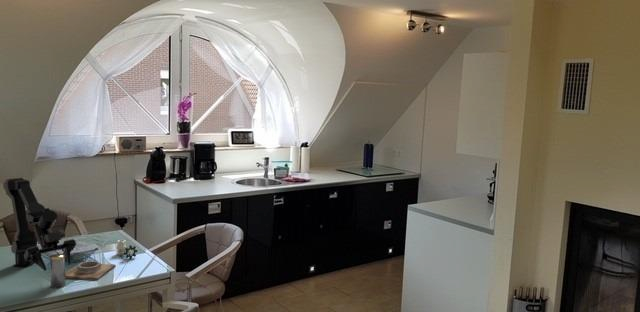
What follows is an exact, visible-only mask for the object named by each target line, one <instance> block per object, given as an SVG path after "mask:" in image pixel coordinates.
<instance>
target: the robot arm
mask: <svg viewBox="0 0 640 312" xmlns="http://www.w3.org/2000/svg"><path fill="white" fill-rule="evenodd" d="M3 189H4V190H5V194H6V195H7V196H8V197H9V198H10V200H11V205H12V210H13V217H14V221H15V228H16V232H15V233H14V236H13V243H12V245H11V247H10V250H11V253H12V254H14V260H15V262H14V263H15V264H13V265H12V266H13V267H17V268H19V267H21V268H23V267H24V268H28V267H30V266H31V265H33V264H35V265H37V266H38V267H40V268H41V269H42V270H43V271H47V267H46V264H45V262H44V260H43V257H42V254H45V253H50V252H56V251H60V250H61V251H62V252H63V253H62V254H64V255H65V263H67V265H68V266H70V265H71V253H72V251H74V249H75V247H76V245H77V241H76V240H75V239H74V238H71V239H67V240H64V241H63V242H62V244H60V240H61V241H62V239H64V238H65V237H66V232H65V230H64V229H58V230H57V232H56V231H55V232H53V231H52V228H53V226H54V225H55V222H56V221H57V218H58V215H57V214H58V213H57V212H56V211H54V210H51V209H50V208H49V207H47V208H46V207H45V205H43V204H41V203H40V202H38V199H37V197H36V195H35V194H34V192H33V190H32V187H31V182H30V180H28V179H24V178H23V177H16V178H8V179H5V181H3ZM29 224H31V225H32V224H35V225H34V227H33V230H31V229H30V227H29V226H30V225H29ZM37 245H40V247H41V248H39V247H38V246H37Z"/></svg>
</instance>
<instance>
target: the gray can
mask: <svg viewBox="0 0 640 312" xmlns="http://www.w3.org/2000/svg"><path fill="white" fill-rule="evenodd" d="M65 263H66V260H65V255H64V254H63V253H55V254H51V255H50V256H49V269H50V270H49V271H50V287H51V289H52V288H53V289H61V288H64V287H65V286H66V278H65V273H66V265H65Z"/></svg>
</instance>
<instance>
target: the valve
mask: <svg viewBox="0 0 640 312" xmlns="http://www.w3.org/2000/svg"><path fill="white" fill-rule="evenodd" d="M126 243H127V242H126V240H125V239H118V240H117V242H116V245H117V246H116V250H117V251H116V254H117V255H119V256H123V255H125V256H124V258H125V259H129V260H133V257H137V254H136V253H138V251H139V250H137V249H136V248H137V246H135V245H134V246H132V245H128V246H127V245H126Z"/></svg>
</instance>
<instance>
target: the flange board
mask: <svg viewBox="0 0 640 312" xmlns="http://www.w3.org/2000/svg"><path fill="white" fill-rule="evenodd" d="M116 267H117V266H116V264H112V263H101V262H99V261H97V260H87V261H82V262H79V263H78V264H77V265H75V266H74V267H72V268H70V269H69V270H67V271H65V279H75V280H91V281H99V280H100V279H102V278H103V277H104V276H106V275H107V274H109V272H111V271H112V270H113V269H115V268H116Z"/></svg>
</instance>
